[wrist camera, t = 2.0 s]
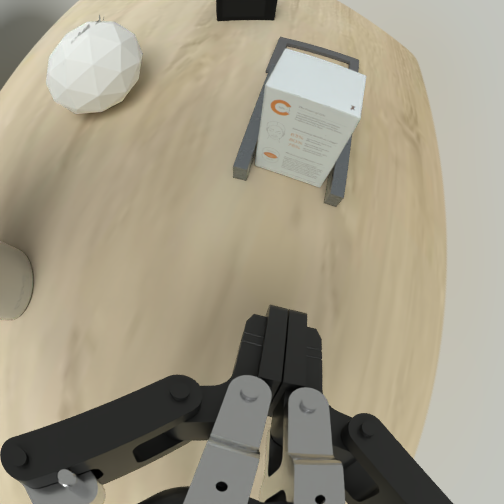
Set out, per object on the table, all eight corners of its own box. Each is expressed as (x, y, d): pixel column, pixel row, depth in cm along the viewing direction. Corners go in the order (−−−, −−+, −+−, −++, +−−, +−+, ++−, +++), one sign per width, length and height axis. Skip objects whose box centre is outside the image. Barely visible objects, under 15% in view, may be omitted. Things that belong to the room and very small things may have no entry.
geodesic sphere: (86, 34, 32) (36, 14, 19) (163, 24, 32) (130, -11, 20) (75, 116, 37) (20, 119, 25) (151, 112, 38) (109, 108, 25)
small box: (331, 147, 35) (368, 75, 22) (320, 189, 33) (362, 120, 20) (269, 126, 35) (284, 46, 22) (252, 166, 33) (263, 85, 21)
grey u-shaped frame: (233, 177, 33) (233, 166, 30) (269, 75, 37) (271, 63, 35) (336, 206, 33) (343, 197, 30) (350, 99, 37) (355, 88, 35)
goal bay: (265, 72, 37) (266, 69, 37) (279, 39, 40) (279, 36, 39) (355, 98, 37) (356, 96, 37) (357, 62, 40) (358, 59, 39)
